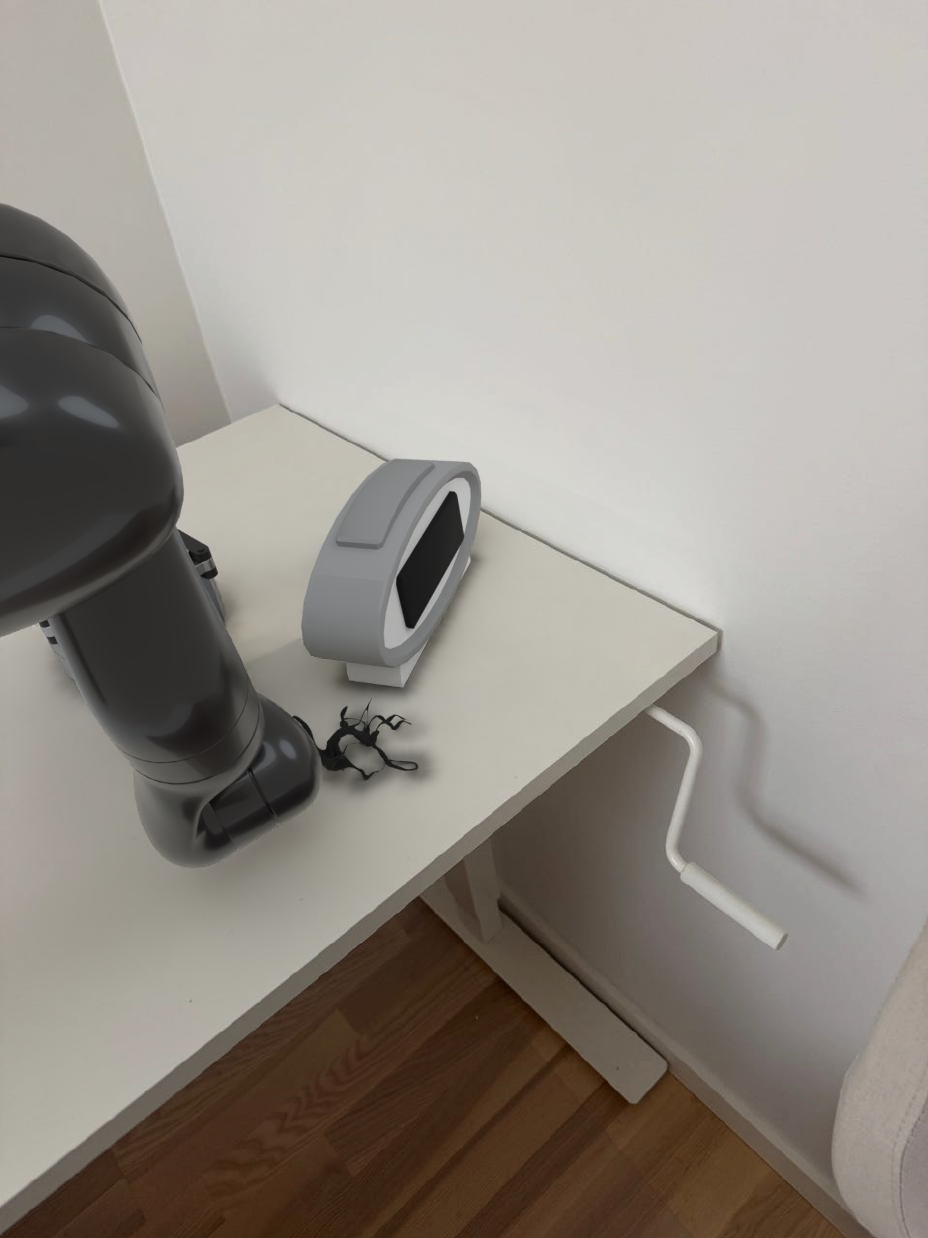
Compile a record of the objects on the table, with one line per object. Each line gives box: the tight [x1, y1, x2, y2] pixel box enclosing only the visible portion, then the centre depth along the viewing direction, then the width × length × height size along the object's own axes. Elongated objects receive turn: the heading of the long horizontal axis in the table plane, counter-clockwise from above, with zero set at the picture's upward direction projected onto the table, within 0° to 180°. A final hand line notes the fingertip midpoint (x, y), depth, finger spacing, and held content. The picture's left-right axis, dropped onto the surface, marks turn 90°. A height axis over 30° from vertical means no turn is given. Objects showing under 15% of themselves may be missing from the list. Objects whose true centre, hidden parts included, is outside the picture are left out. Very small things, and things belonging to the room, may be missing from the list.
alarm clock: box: [300, 458, 482, 688], centre depth 76 cm, size 23×6×13 cm, turn 161°
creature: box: [291, 697, 419, 781], centre depth 67 cm, size 8×5×8 cm
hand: (102, 540), depth 80 cm, fingers closed on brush, 4 cm apart
